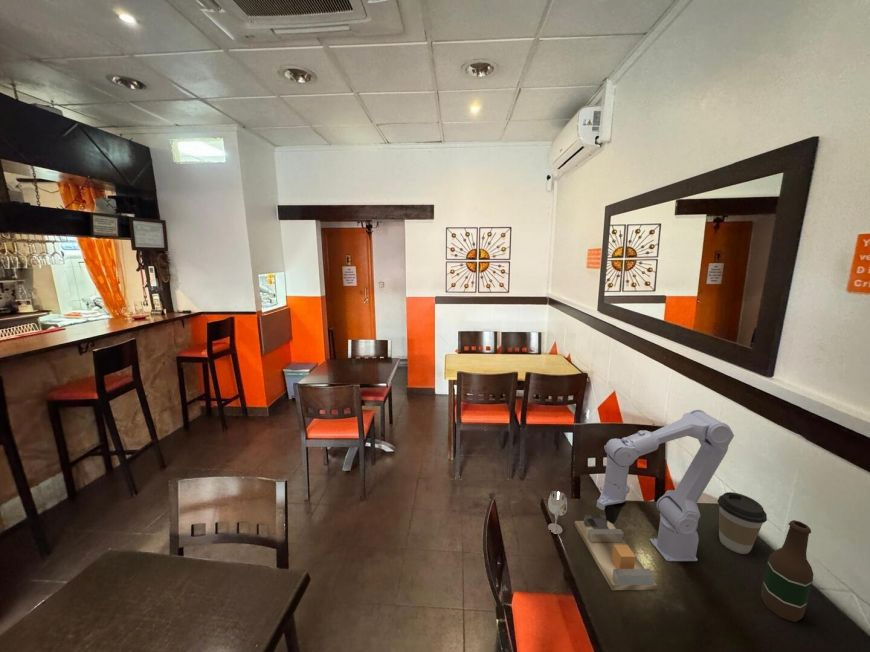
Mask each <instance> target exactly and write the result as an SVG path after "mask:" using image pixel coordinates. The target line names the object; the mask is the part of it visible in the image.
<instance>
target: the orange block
mask: <svg viewBox="0 0 870 652" xmlns="http://www.w3.org/2000/svg"><path fill="white" fill-rule="evenodd" d="M629 547H630V546H629V544H628V545H613V553H612V561H613V563H614V565H615V566H616V568H617V569H634V565H635V558H636V557H637V556H635V555H636V554H635V553H634V551H633V550H632V549H631V547H630V548H629ZM631 550H632V551H633V552H632V551H631ZM633 553H634V554H635V555H634V554H633Z"/></svg>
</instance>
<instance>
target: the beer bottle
mask: <svg viewBox="0 0 870 652" xmlns="http://www.w3.org/2000/svg"><path fill="white" fill-rule="evenodd" d="M788 525H789V529H788V531H787V533H786V537H785V540H784V542H783V544H782V546H781V547H780V548H778V549H775V550H773V551H772V553H771V554H769V557H768V559H767V563H766V567H765V572H764V577H763V581H762V586H761V590H760V598H761V600H762V602H763V604H764V606H765V607H766V608H767V609H768V610H769V611H771V612H772V613H773V614H775V615H776V616H778V617H779V618H781V619H784V620H786V621H789V622H793V623H797V622H798V621H800V620H801V619H803V618H804V615H805V613H806V609H807V605H808V602H809V597H810V594H811V589H812V586H813V582H814V571H813V567H812V566H811V564H810V562H809V561H808V559H807V558H808V557H807V552H808V551H807V550H808V544H809V543H808V542H809V535H810V534H811V533H812V530H811V528H810V527H809V525H807V524H806V523H804V522H802V521H799V520H795V519H794V520H790V521H789V522H788Z"/></svg>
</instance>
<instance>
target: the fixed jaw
mask: <svg viewBox="0 0 870 652" xmlns="http://www.w3.org/2000/svg"><path fill="white" fill-rule="evenodd" d="M655 576H656V575H655V573H654V572H653V571H652V569H651V568H645V569H613V576H612V579H613V581H614V582H615V584H616V585H653V584H654V582H655Z"/></svg>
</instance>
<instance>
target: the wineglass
mask: <svg viewBox="0 0 870 652" xmlns="http://www.w3.org/2000/svg"><path fill="white" fill-rule="evenodd" d="M547 508H548V510H549V511H550V513H551V514H553V515H554V523H553V522H552V523H549V524H548V526H547V528H548V530H549V531H550V530H551V531H550V532H551V533H553V534H557V535H560V534H562V533H563V528H562V526H561V525H559V524H557V521H558V518H559V517H560V516H563V515H565V514H566V513H567V509H568V501H567V496H566V495H565V493H564V492H561V491H559V490H553V491H551V492H550V495H549V497H548V501H547Z"/></svg>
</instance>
